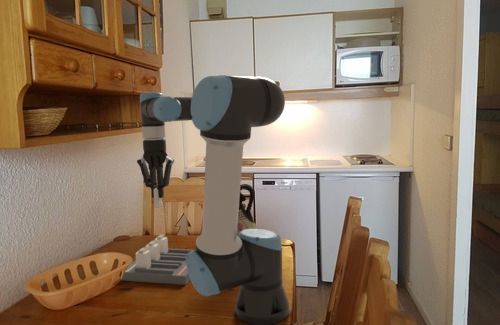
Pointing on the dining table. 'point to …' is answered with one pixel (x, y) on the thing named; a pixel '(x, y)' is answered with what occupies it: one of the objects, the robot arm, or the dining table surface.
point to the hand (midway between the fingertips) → (158, 206)
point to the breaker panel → (162, 269)
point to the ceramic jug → (245, 211)
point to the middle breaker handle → (153, 250)
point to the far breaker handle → (162, 243)
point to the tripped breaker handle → (143, 258)
